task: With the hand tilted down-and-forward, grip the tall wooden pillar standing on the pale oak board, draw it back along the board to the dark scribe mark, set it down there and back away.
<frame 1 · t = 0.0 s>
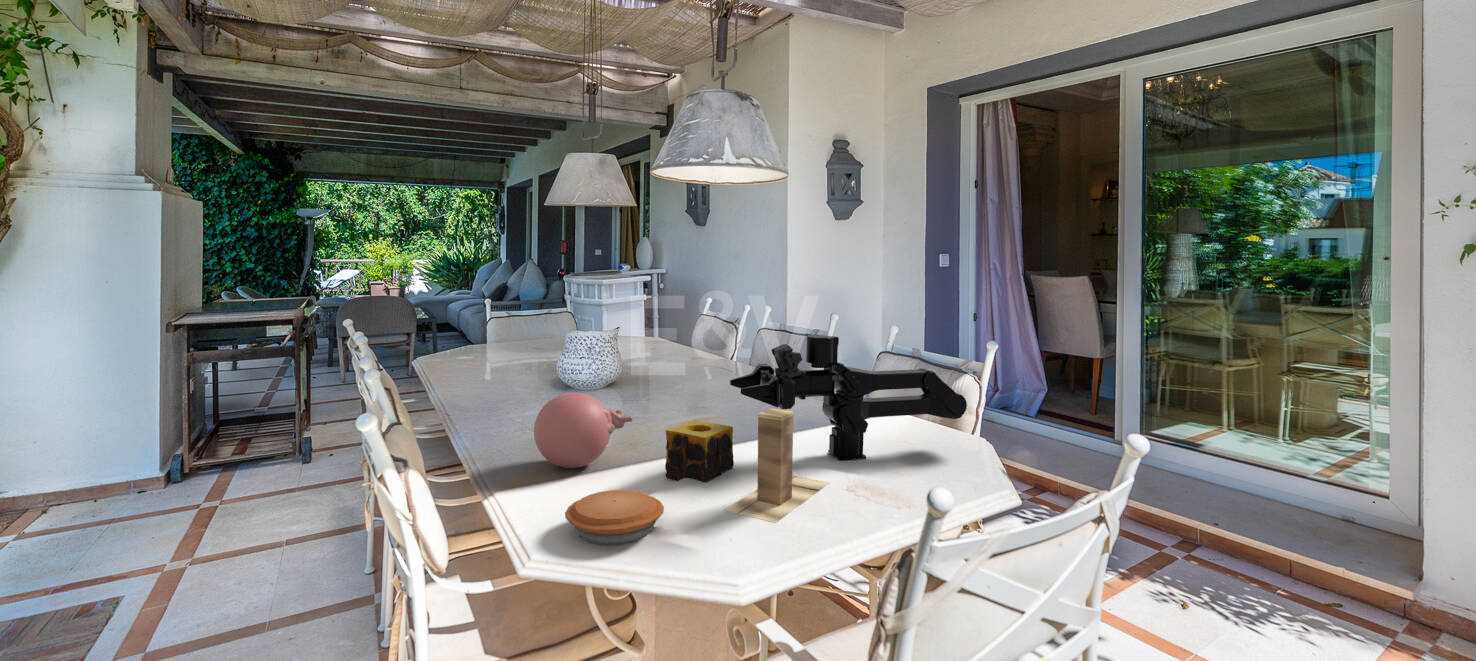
hand: (735, 386, 139), 17 cm above the table, tool horizontal, fingers open, 9 cm apart
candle: (699, 478, 134), on the table
pie: (615, 531, 108), on the table
board: (779, 502, 120), on the table
balloon: (585, 466, 140), on the table
tall wooden pillar: (774, 499, 118), point 1 cm above the table, touching board
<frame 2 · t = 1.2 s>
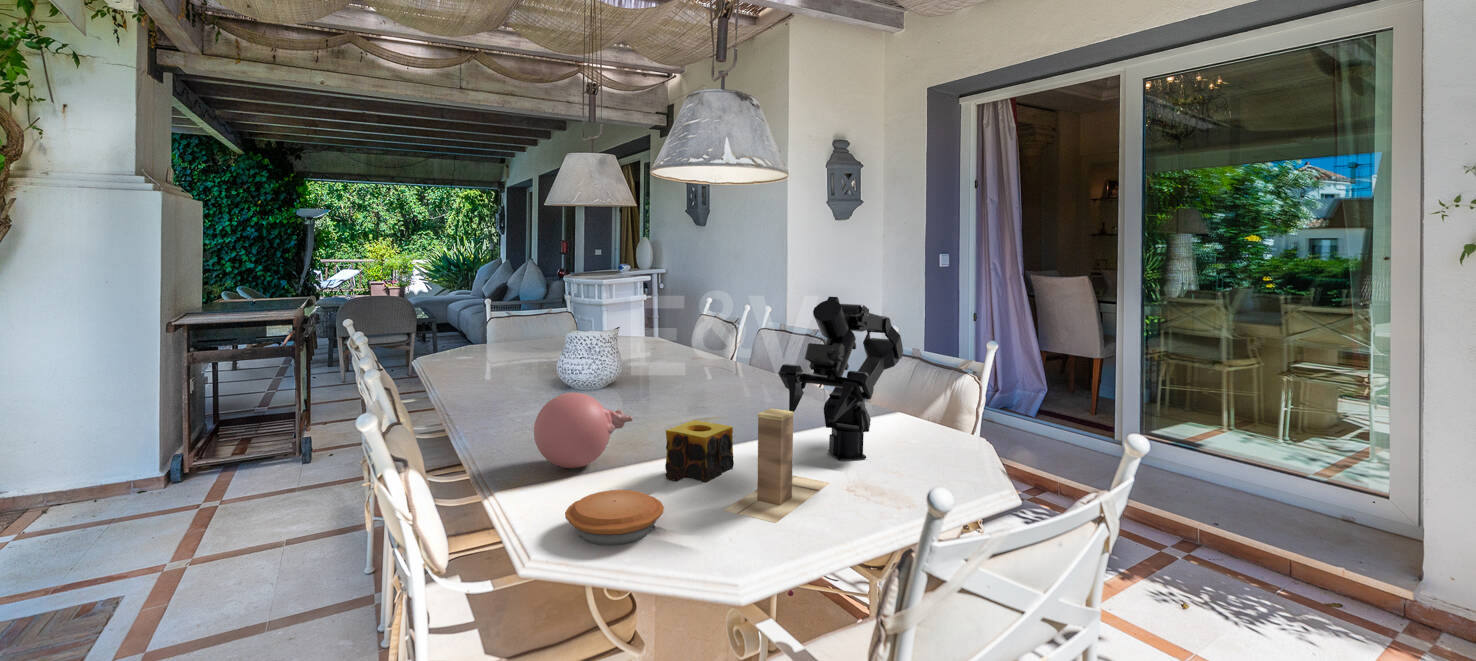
hand: (811, 416, 130), 13 cm above the table, tool tilted 45°, fingers open, 9 cm apart
nothing on the table moved.
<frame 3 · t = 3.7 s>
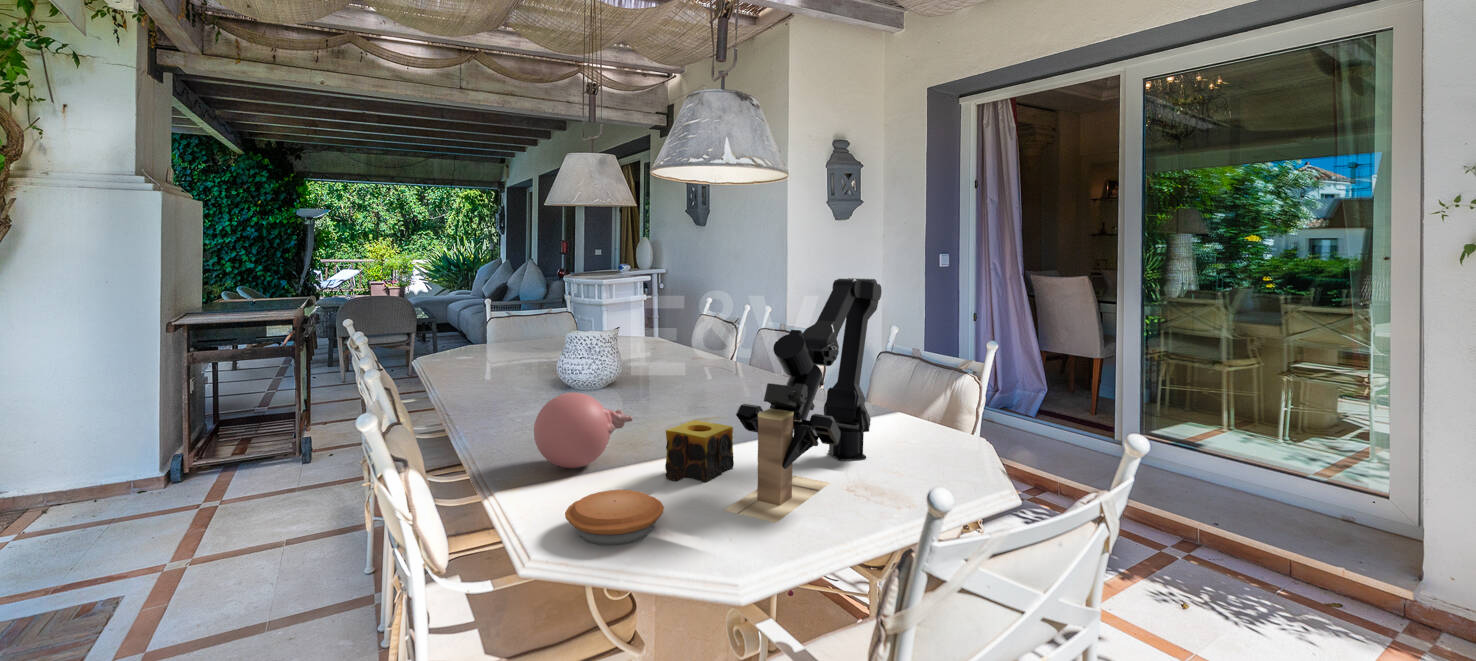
hand: (771, 465, 116), 8 cm above the table, tool tilted 45°, fingers closed on tall wooden pillar, 4 cm apart
tall wooden pillar: (774, 499, 118), point 1 cm above the table, touching board, gripper
everything else where it was.
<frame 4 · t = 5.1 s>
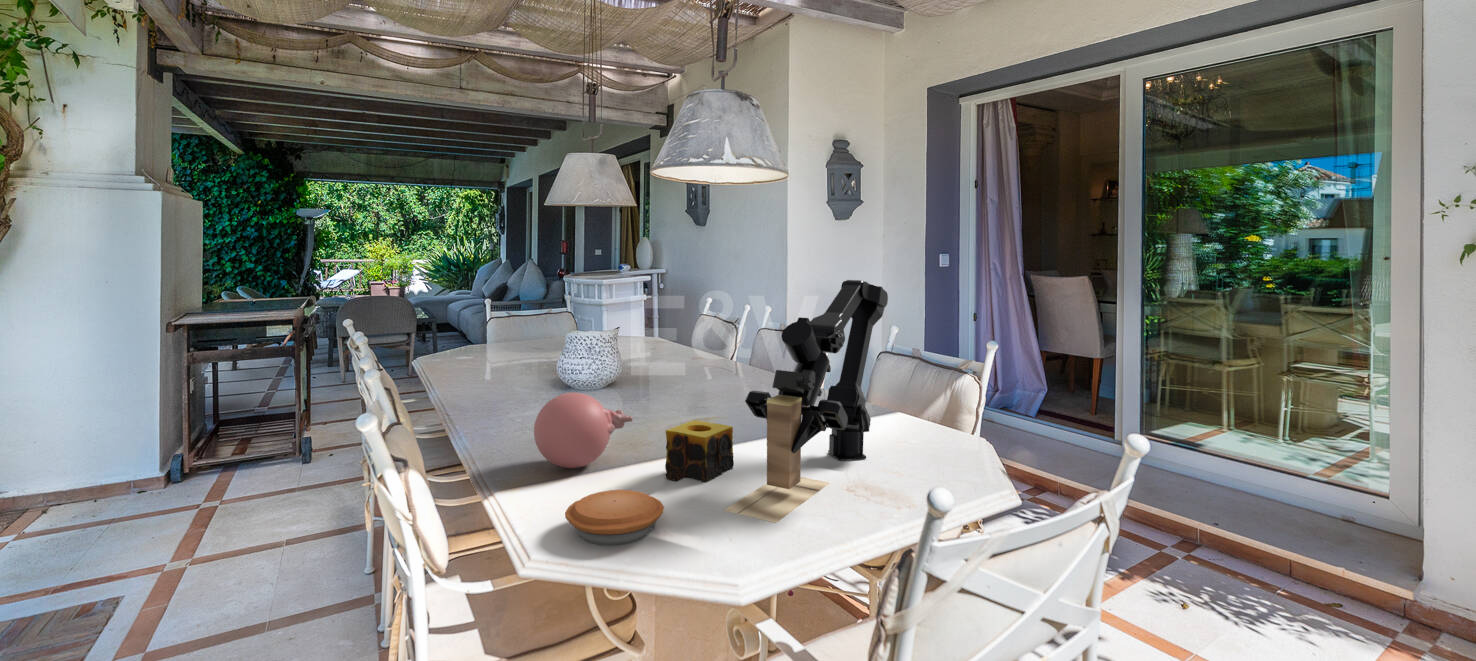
hand: (780, 449, 119), 10 cm above the table, tool tilted 45°, fingers closed on tall wooden pillar, 4 cm apart
tall wooden pillar: (783, 483, 121), point 3 cm above the table, touching gripper
everything else where it was.
when the fingers open (8 cm above the table, at t = 6.6 s): tall wooden pillar stays where it is, resting on board.
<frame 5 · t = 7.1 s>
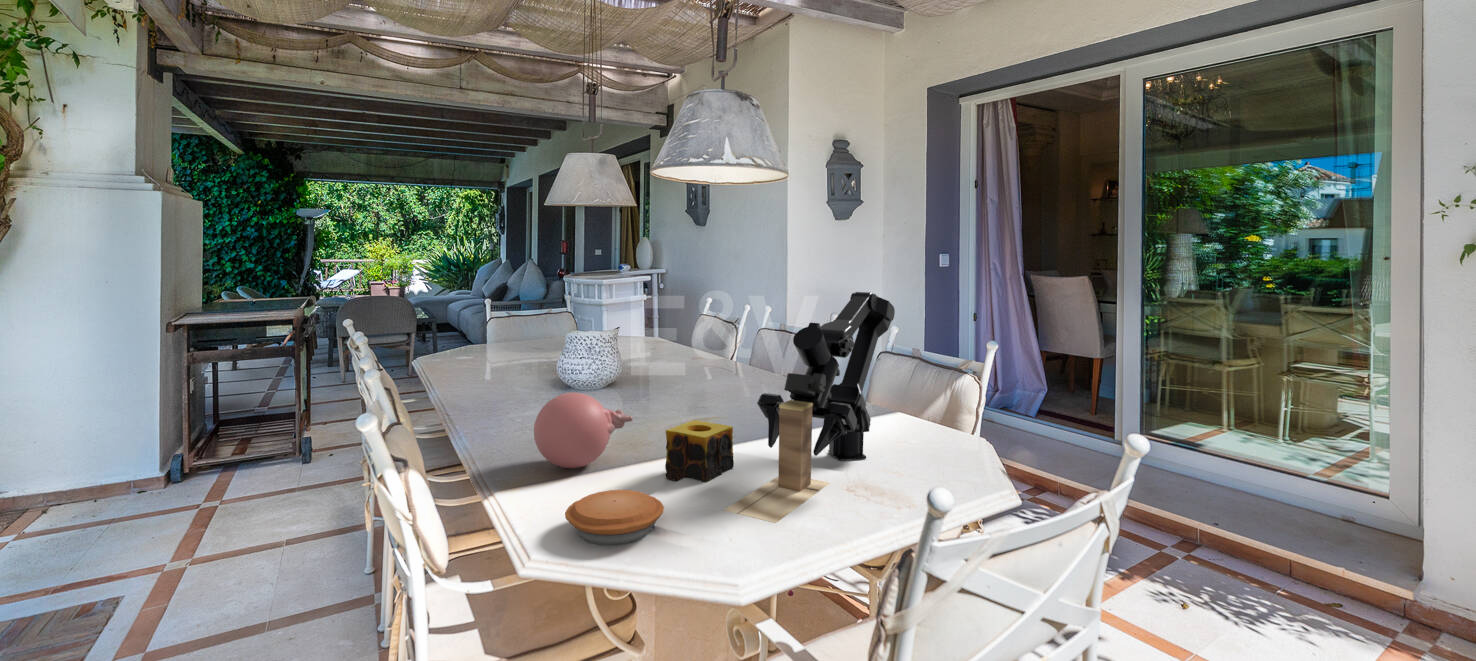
hand: (791, 450, 123), 8 cm above the table, tool tilted 45°, fingers open, 9 cm apart
tall wooden pillar: (794, 485, 125), point 1 cm above the table, touching board
everything else where it was.
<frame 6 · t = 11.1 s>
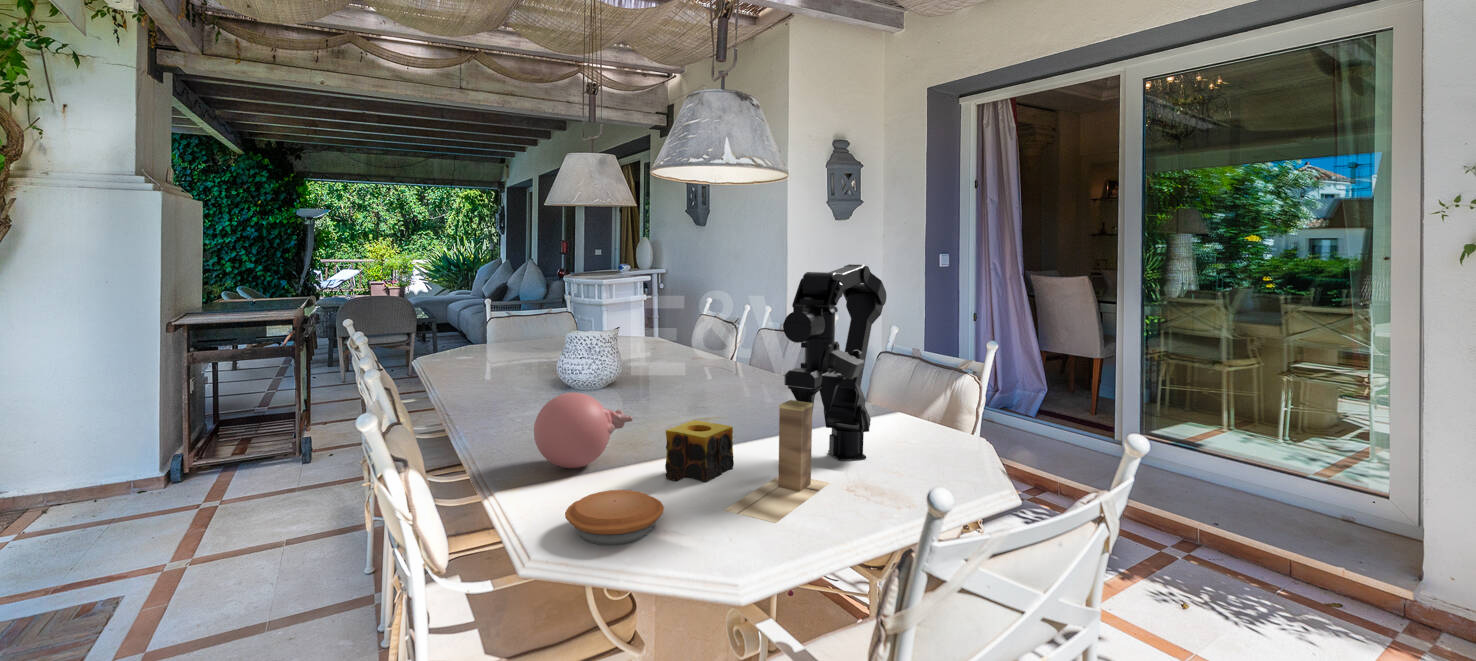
hand: (818, 415, 132), 12 cm above the table, tool pointing down, fingers open, 9 cm apart
nothing on the table moved.
at the end: tall wooden pillar inside the target area (0.0 cm from its centre), point 1.2 cm above the table; tall wooden pillar tilted 0°; the gripper is holding nothing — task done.
